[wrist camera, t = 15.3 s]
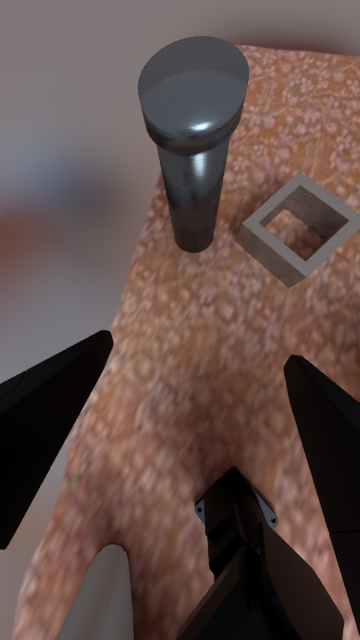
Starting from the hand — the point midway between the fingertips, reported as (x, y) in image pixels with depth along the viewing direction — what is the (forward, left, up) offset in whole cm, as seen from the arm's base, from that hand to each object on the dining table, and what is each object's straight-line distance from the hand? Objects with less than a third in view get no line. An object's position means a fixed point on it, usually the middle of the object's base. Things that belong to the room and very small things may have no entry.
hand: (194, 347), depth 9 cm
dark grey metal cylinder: (+12, -11, -14) cm, 21 cm away
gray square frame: (+2, -19, -14) cm, 23 cm away
